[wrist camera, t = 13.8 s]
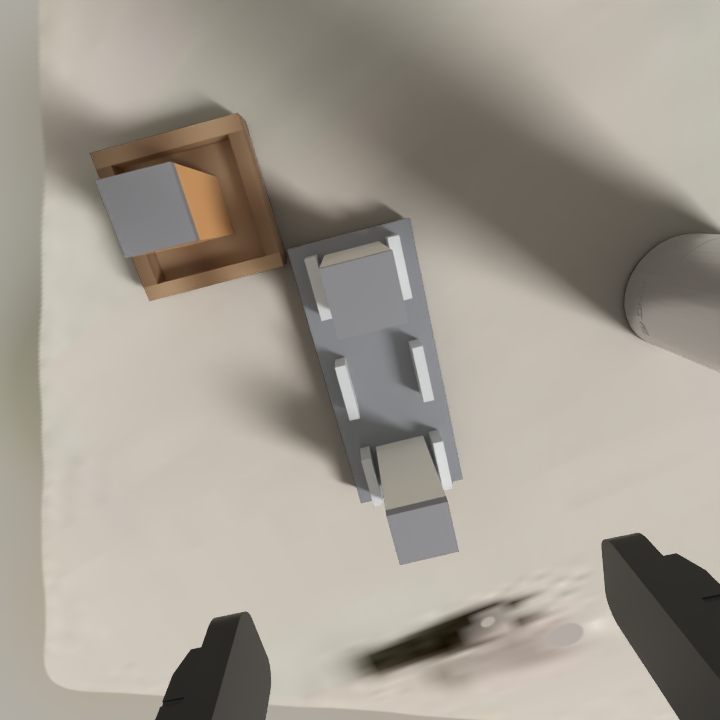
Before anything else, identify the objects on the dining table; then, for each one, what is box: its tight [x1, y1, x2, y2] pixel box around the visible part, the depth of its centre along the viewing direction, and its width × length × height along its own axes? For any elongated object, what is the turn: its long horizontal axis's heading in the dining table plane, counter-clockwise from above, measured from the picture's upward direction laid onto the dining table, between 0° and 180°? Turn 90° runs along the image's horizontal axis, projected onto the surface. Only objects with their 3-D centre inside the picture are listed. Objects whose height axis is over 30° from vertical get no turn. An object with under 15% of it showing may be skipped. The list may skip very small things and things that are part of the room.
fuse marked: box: [95, 162, 234, 258], centre depth 28 cm, size 4×4×9 cm
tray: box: [90, 113, 287, 301], centre depth 31 cm, size 10×10×2 cm
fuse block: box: [287, 218, 463, 565], centre depth 32 cm, size 9×22×11 cm, turn 14°
